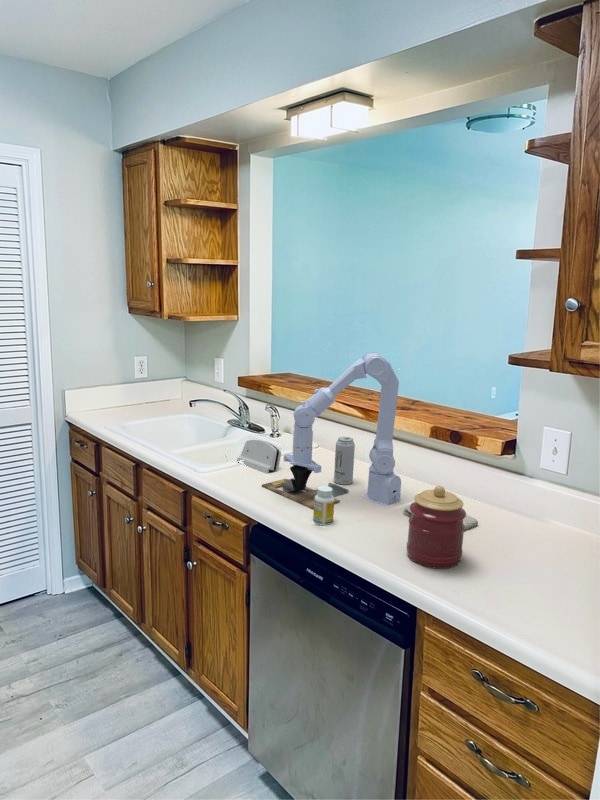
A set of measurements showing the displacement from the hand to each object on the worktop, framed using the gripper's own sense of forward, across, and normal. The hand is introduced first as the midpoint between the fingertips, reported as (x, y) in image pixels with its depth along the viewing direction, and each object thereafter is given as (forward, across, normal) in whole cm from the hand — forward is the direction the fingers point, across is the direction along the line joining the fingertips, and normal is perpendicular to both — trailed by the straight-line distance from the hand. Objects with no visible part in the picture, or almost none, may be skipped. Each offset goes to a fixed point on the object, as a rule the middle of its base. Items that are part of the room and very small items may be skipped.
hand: (300, 489), depth 174 cm
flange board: (+2, 0, 0) cm, 2 cm away
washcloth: (+3, +36, +19) cm, 41 cm away
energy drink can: (+2, 0, +19) cm, 19 cm away
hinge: (+3, -31, +9) cm, 32 cm away
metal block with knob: (+1, -3, 0) cm, 3 cm away
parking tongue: (+2, +4, +10) cm, 10 cm away
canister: (+2, +48, -1) cm, 49 cm away
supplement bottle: (+2, +18, -8) cm, 20 cm away
